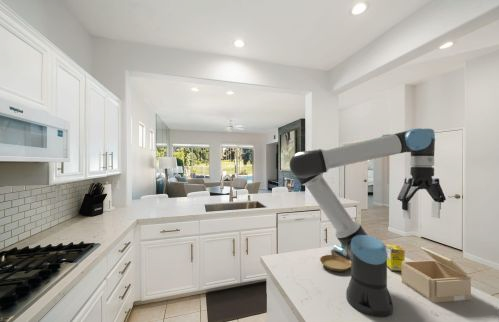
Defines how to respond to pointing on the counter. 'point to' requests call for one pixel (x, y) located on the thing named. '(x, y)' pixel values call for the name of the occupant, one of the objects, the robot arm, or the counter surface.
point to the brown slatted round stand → (339, 251)
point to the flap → (444, 260)
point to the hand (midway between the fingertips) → (421, 217)
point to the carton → (436, 281)
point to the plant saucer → (335, 263)
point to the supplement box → (395, 257)
